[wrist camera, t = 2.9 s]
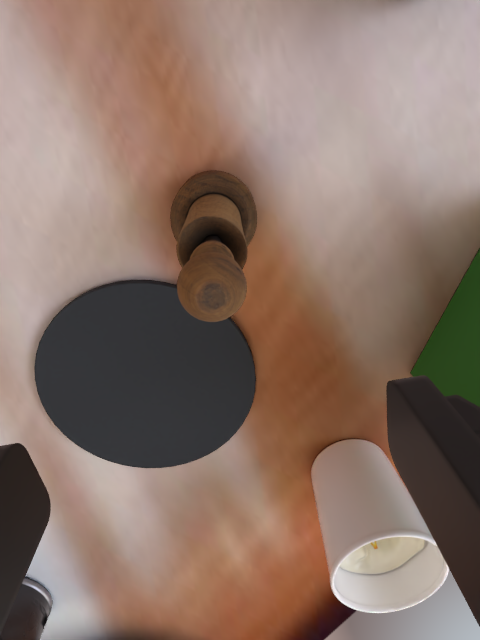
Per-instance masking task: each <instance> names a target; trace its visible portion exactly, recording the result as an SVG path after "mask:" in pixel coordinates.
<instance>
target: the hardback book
mask: <svg viewBox="0 0 480 640" xmlns="http://www.w3.org/2000/svg"><path fill="white" fill-rule="evenodd" d="M411 374H412V376H413V377H415V376H421V375H425V376H427V377H428V378H429V379H430V380H431V381H432V382H433V383H434V385H435V386H436V387H437V388H438V389H439V390H440V392H441V393H442V394H443V395H444V396H451V395H459V396H461V397H462V398H464V399H466V400H468V401H470V402H471V403H473V404H475V405H477V406H479V407H480V249H479V250H478V252H477V254H476V256H475V258H474V259H473V261H472V263H471V265H470V267H469V268H468V270H467V272H466V274H465V276H464V277H463V279H462V281H461V283H460V285H459V286H458V288H457V290H456V292H455V294H454V295H453V297H452V299H451V301H450V303H449V304H448V306H447V308H446V310H445V312H444V313H443V315H442V317H441V319H440V321H439V322H438V324H437V326H436V328H435V330H434V331H433V333H432V335H431V337H430V339H429V340H428V342H427V344H426V346H425V348H424V349H423V351H422V353H421V355H420V357H419V358H418V360H417V362H416V364H415V366H414V367H413V369H412V371H411Z"/></svg>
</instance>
